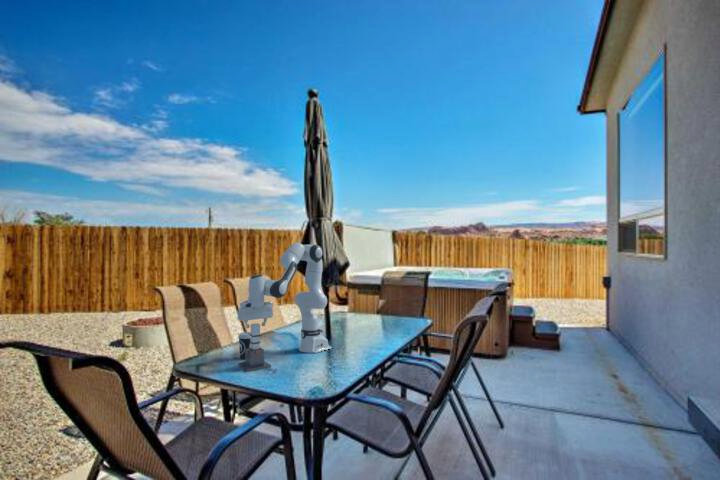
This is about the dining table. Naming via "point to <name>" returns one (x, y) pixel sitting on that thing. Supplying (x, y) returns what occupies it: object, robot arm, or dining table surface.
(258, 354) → the stand
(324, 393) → the dining table surface
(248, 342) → the coffee cup
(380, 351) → the dining table surface
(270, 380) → the dining table surface
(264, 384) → the dining table surface
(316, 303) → the robot arm
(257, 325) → the column
